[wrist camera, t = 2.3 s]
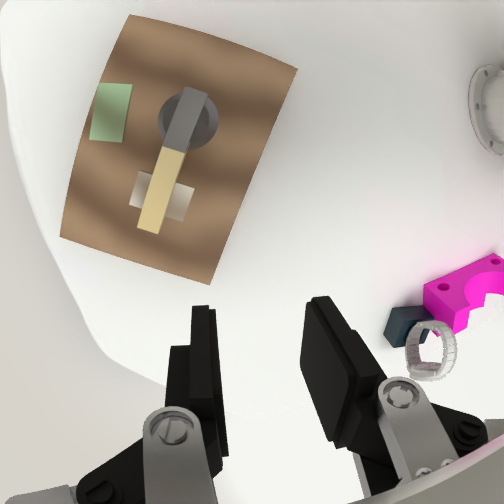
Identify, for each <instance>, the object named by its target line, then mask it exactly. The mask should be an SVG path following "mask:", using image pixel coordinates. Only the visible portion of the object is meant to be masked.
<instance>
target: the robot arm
mask: <svg viewBox="0 0 504 504" xmlns="http://www.w3.org/2000/svg"><path fill="white" fill-rule="evenodd" d="M469 111H470V116H471V121H472V124H473V127H474V130H475V133H476V135H477V137H478V139H479V140H480V142H481V143H482V145H483V146H484V147H485V148H486V149H487V150H489V151H490V152H492V153H495V154H500V155H504V70H502V69H501V68H499V67H497V66H493V65H487V66H482V67H480V68H479V69H478V70H477V71H476V72H475V73H474V75H473V77H472V80H471V83H470V88H469ZM300 368H301V371H302V374H303V377H304V379H305V382H306V385H307V387H308V390H309V392H310V395H311V398H312V400H313V403H314V406H315V408H316V411H317V414H318V416H319V419H320V422H321V424H322V427H323V430H324V432H325V435H326V438H327V440H328V441H329V442H331V441H333V442H334V445H335V447H336V449H339V448H343V447H347V450H349V451H351V452H353V458H354V461H355V465H356V468H357V472H358V476H359V479H360V483H361V487H362V490H363V494H364V498H365V499H362V500H359V501H355V502H352V503H348V504H504V419H485V420H484V421H483V422H482V421H481V420H480V419H479V418H477V417H475V416H473V415H470V414H466V413H463V412H460V411H456V410H453V409H450V408H447V407H443V406H440V405H437V404H434V403H431V402H429V400H428V398H427V396H426V394H425V392H424V391H423V389H422V388H421V387H420V385H419V384H418V383H416V382H415V381H413V380H411V379H409V378H405V377H391V378H387V376H386V375H385V373H384V372H383V370H382V369H381V367H380V365H379V364H378V362H377V361H376V359H375V358H374V356H373V355H372V353H371V352H370V350H369V349H368V347H367V346H366V344H365V343H364V341H363V340H362V338H361V337H360V335H359V334H358V332H357V331H356V330H353V329H352V330H351V328H350V327H349V325H348V323H347V322H346V320H345V319H344V317H343V316H342V314H341V313H340V311H339V310H338V308H337V307H336V305H335V304H334V302H333V301H332V299H331V298H330V297H329V296H321V297H313V298H312V299H311V302H307V304H306V310H305V320H304V329H303V338H302V347H301V355H300ZM226 456H229V452H228V443H227V434H226V425H225V415H224V405H223V394H222V383H221V372H220V361H219V349H218V337H217V324H216V310H215V309H209V305H200V306H192V319H191V342H190V345H182V346H171V349H170V357H169V366H168V376H167V386H166V398H165V407H164V408H160V409H158V410H156V411H154V412H153V413H151V414H150V415H149V416H148V417H147V419H146V421H145V422H144V426H143V438H141V439H140V440H138V441H137V442H135V443H134V444H132V445H131V446H130V447H128V448H127V449H125V450H124V451H122V452H121V453H119V454H118V455H116V456H115V457H113V458H112V459H110V460H109V461H107V462H106V463H104V464H103V465H101V466H99V467H98V468H96V469H95V470H93V471H92V472H90V473H88V474H87V475H86V476H84V477H83V478H82V479H81V480H80V481H79V483H78V485H77V486H73V487H69V486H68V485H63V486H59V487H55V488H51V489H46V490H42V491H37V492H32V493H27V494H21V495H16V496H13V497H11V498H9V499H8V500H7V501H6V502H5V504H218V501H217V496H216V492H215V487H214V483H213V478H214V477H215V476H216V475H217V474H218V473H219V472H220V471H222V466H223V461H222V457H226Z"/></svg>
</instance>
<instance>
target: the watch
mask: <svg viewBox="0 0 504 504" xmlns="http://www.w3.org/2000/svg"><path fill="white" fill-rule="evenodd" d="M434 318H435V317H434V316H433V315H432V314H431V313H430V312H429V311H428V310H427V309H426V308H425V307H424V306H412V307H398V308H392V311H391V314H390V317H389V320H388V323H387V325H386V328H385V331H384V334H383V335H384V336H385V337H386V339H387V340H388V341H389V343H390V344H391V345H392V347H393V348H397V347H403V346H405V357H406V362H407V369H408V371H409V373H410V378H411V379H414V380H418V381H436V380H440V379H443V378H445V377H446V374H447V373H450V372H451V370H452V368H453V366H454V364H455V361H456V357H457V343H456V339H455V336H454V333H453V332H452V330H451V329H450V328H449V326H447V324H446V323H444V322H441V321H436V320H434ZM430 330H432V331H433V330H434V331H436V332H437V333H439V334H440V335H441V338H442V341H443V348H444V349H443V356H444V357H443V359H442V364H440V363H434V362H429V363H428V362H421V359H420V355H419V347H418V346H419V344H423V343H424V342H425V340H426V338H427V335H428V333H429V331H430ZM451 344H453V345H451ZM447 345H448V346H447ZM445 348H446V349H445ZM411 351H413V352H411ZM411 358H412V359H411Z"/></svg>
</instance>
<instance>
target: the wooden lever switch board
mask: <svg viewBox="0 0 504 504" xmlns="http://www.w3.org/2000/svg"><path fill="white" fill-rule="evenodd" d="M297 70H298V69H297V68H295V67H293V66H291V65H288V64H286V63H284V62H282V61H279V60H277V59H275V58H272V57H270V56H267V55H265V54H263V53H260V52H257V51H255V50H252V49H250V48H247V47H244V46H242V45H239V44H236V43H233V42H231V41H228V40H225V39H222V38H219V37H216V36H213V35H210V34H206V33H203V32H200V31H196V30H193V29H189V28H186V27H182V26H179V25H175V24H171V23H167V22H163V21H158V20H154V19H150V18H145V17H140V16H135V15H129V17H128V19H127V20H126V22H125V25H124V27H123V29H122V31H121V33H120V35H119V37H118V39H117V41H116V44H115V46H114V48H113V50H112V53H111V55H110V57H109V60H108V62H107V64H106V67H105V69H104V72H103V74H102V77H101V79H100V82H99V84H98V87H97V90H96V93H95V96H94V98H93V101H92V104H91V107H90V110H89V113H88V116H87V119H86V122H85V126H84V129H83V132H82V136H81V139H80V143H79V146H78V150H77V154H76V157H75V161H74V165H73V169H72V174H71V178H70V182H69V187H68V192H67V197H66V202H65V207H64V212H63V218H62V224H61V230H60V237H62V238H65V239H68V240H70V241H73V242H76V243H79V244H82V245H85V246H88V247H91V248H94V249H97V250H100V251H103V252H106V253H109V254H112V255H115V256H118V257H121V258H124V259H127V260H130V261H133V262H136V263H139V264H142V265H145V266H149V267H152V268H155V269H158V270H161V271H164V272H168V273H171V274H174V275H177V276H181V277H184V278H187V279H191V280H194V281H197V282H201V283H204V284H207V285H210V283H211V280H212V278H213V275H214V273H215V270H216V267H217V265H218V262H219V260H220V257H221V254H222V252H223V249H224V247H225V244H226V242H227V239H228V236H229V234H230V231H231V229H232V226H233V224H234V221H235V219H236V216H237V214H238V211H239V209H240V206H241V204H242V201H243V199H244V196H245V194H246V191H247V189H248V186H249V184H250V181H251V179H252V176H253V174H254V171H255V169H256V167H257V164H258V162H259V159H260V157H261V154H262V152H263V150H264V147H265V145H266V142H267V140H268V138H269V135H270V133H271V130H272V128H273V126H274V123H275V121H276V119H277V116H278V114H279V111H280V109H281V107H282V104H283V102H284V100H285V97H286V95H287V93H288V90H289V88H290V86H291V84H292V81H293V79H294V77H295V74H296V72H297ZM185 86H187V87H190V88H193V89H196V90H199V91H202V92H205V93H208V97H207V100H206V102H205V104H204V105H205V107H206V108H207V110H208V113H209V125H208V128H207V130H206V132H205V133H204V134H203V135H202V136H201V137H200V138H198V139H197V140H195V141H192V142H190V145H189V148H188V150H187V153H186V156H185V159H184V161H183V164H182V167H181V170H180V172H179V175H178V178H177V181H176V184H175V187H174V190H173V193H172V196H171V199H170V202H169V205H168V208H167V211H166V214H165V218H164V221H163V224H162V226H161V228H160V231H159V233H158V234H155V233H152V232H149V231H146V230H143V229H140V228H137V225H138V222H139V218H140V215H141V211H142V208H143V204H144V201H145V197H146V194H147V191H148V188H149V184H150V181H151V178H152V175H153V172H154V169H155V166H156V163H157V160H158V157H159V154H160V151H161V148H162V145H163V142H164V139H165V137H166V134H167V133H166V131H165V129H164V127H163V115H164V112H165V110H166V109H167V107H168V106H169V105H170V104H171V103H172V102H173V101H175V100H177V99H180V98H181V95H182V93H183V90H184V88H185Z"/></svg>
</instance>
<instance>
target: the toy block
mask: <svg viewBox="0 0 504 504" xmlns="http://www.w3.org/2000/svg"><path fill="white" fill-rule="evenodd" d="M486 293H495V294H501V295H504V259H502V258H501V257H499V256H497V255H496V254H494V253H493V254H491V255H489V256H486V257H484V258H482V259H480V260H478V261H476V262H474V263H472V264H470V265H467V266H465V267H463V268H461V269H459V270H457V271H454V272H452V273H450V274H448V275H445V276H443V277H441V278H438V279H436V280H434V281H431V282H429V283H427V284H424V294H423V306H424V307H425V308H426V309H427V310H428V311H429V312H430V313H431V314H432V315H433V316H434V317H435V318H434V320H436V321H441V322H444V323H446V324H447V326H449V328H450V329H451V330H452V332H453V333H454V335H455V334H456V333H458V332H460V331H462V330H464V329H466V328H467V323H468V318H469V312H470V311H471V310H473V309H475V308H479V307H484V301H485V296H486ZM431 331H432V330H431ZM432 332H433V333H434V334H435V335H436V336H437V337H438V336H440V334H439V333H437V332H436V331H434V330H433V331H432Z"/></svg>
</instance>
